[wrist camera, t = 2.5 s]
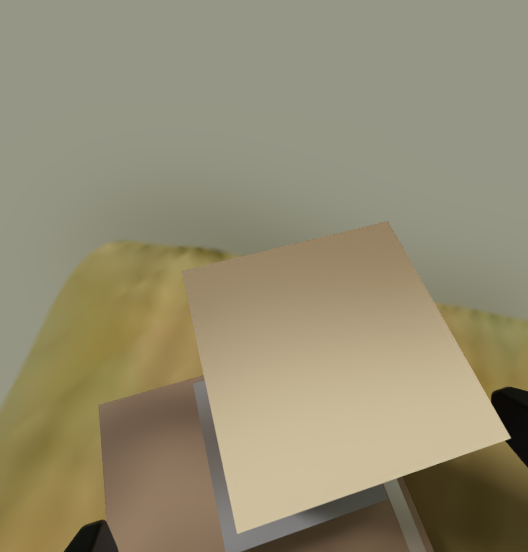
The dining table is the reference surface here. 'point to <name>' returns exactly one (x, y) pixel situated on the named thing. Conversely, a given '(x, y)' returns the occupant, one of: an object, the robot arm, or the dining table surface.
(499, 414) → the robot arm
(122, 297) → the dining table surface
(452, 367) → the wooden post with base
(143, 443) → the plank
